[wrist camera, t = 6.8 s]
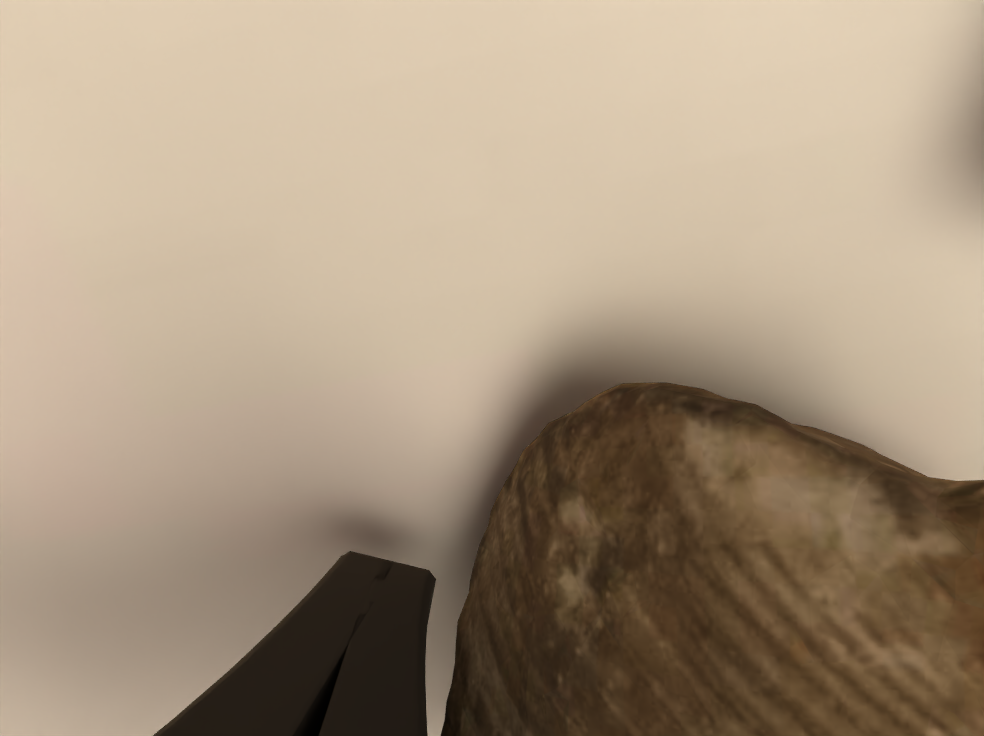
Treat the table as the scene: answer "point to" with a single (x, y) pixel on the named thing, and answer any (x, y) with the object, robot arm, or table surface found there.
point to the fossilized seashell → (719, 582)
